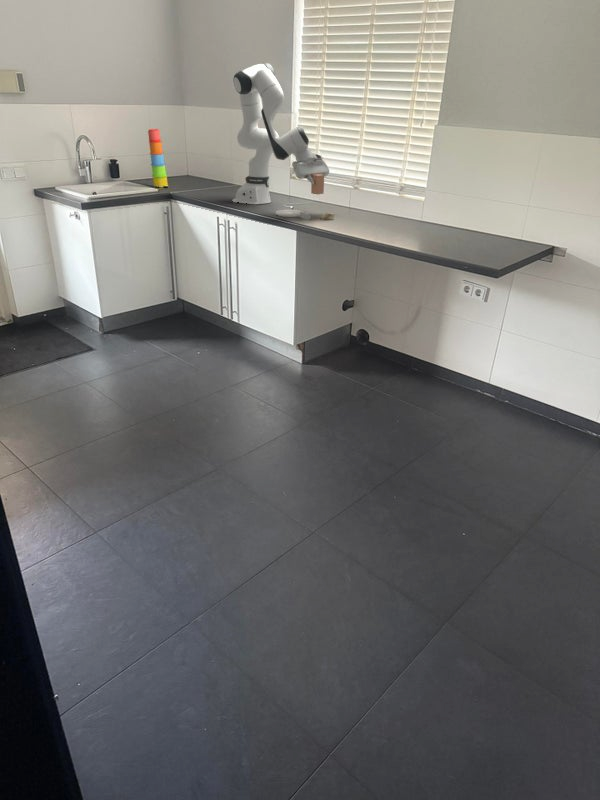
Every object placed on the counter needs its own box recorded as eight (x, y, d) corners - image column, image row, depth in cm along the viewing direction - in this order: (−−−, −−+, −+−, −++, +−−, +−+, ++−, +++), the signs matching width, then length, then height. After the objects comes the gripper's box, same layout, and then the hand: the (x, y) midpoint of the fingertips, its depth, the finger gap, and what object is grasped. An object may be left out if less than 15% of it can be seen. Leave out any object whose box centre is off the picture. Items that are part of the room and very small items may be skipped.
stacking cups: (166, 188, 366) (161, 129, 350) (151, 188, 366) (145, 129, 350) (170, 186, 375) (166, 128, 359) (155, 186, 375) (150, 128, 359)
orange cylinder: (311, 193, 291) (311, 174, 286) (317, 192, 293) (318, 174, 289) (317, 194, 288) (317, 175, 283) (323, 193, 290) (324, 175, 286)
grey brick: (299, 217, 291) (299, 211, 290) (304, 217, 293) (304, 211, 291) (305, 220, 287) (305, 213, 285) (310, 219, 288) (310, 213, 287)
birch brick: (322, 220, 287) (323, 214, 285) (320, 219, 289) (320, 213, 288) (333, 219, 289) (333, 213, 287) (330, 218, 291) (331, 212, 290)
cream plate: (272, 216, 293) (272, 213, 292) (280, 211, 305) (280, 208, 305) (300, 218, 290) (300, 215, 289) (306, 213, 302) (306, 210, 302)
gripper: (293, 157, 281) (306, 180, 279) (324, 155, 293) (336, 177, 291) (287, 166, 286) (300, 189, 284) (317, 163, 298) (329, 185, 296)
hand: (318, 183), depth 288 cm, fingers closed on orange cylinder, 4 cm apart
